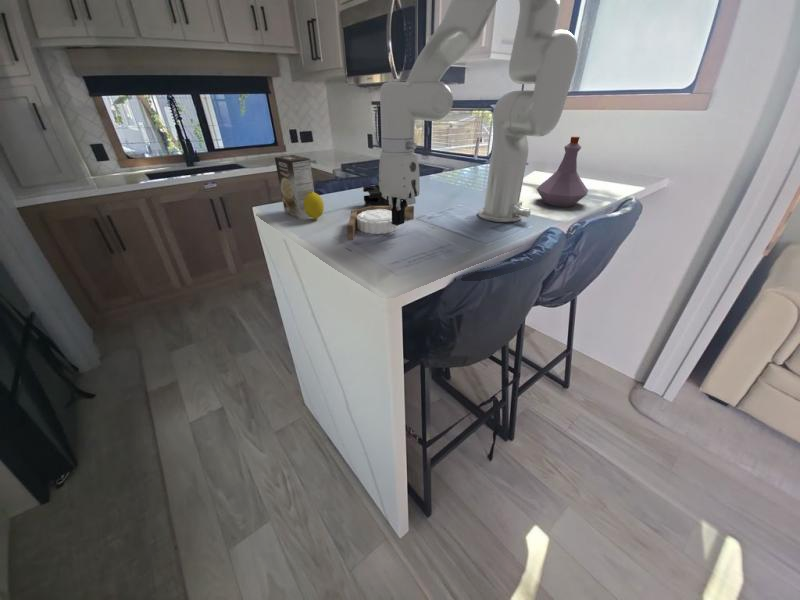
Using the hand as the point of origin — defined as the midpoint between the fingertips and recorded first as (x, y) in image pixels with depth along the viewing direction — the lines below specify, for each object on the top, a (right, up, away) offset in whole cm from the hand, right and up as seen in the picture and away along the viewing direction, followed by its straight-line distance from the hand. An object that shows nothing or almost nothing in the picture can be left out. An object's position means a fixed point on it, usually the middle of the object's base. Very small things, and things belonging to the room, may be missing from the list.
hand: (398, 223), depth 85 cm
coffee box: (-30, +6, +15) cm, 34 cm away
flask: (+54, +13, +25) cm, 61 cm away
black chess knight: (-7, +10, +21) cm, 24 cm away
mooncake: (-5, 0, +6) cm, 8 cm away
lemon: (-24, +3, +11) cm, 27 cm away
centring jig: (-7, +1, +7) cm, 10 cm away
